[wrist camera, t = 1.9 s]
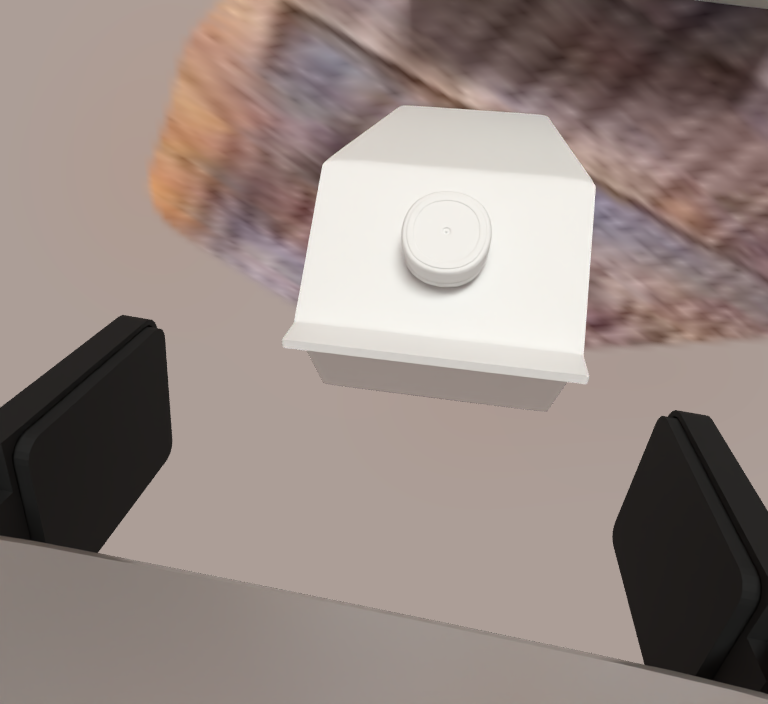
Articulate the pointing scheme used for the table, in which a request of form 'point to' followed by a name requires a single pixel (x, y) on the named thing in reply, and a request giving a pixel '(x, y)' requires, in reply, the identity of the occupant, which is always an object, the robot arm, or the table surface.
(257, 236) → the table surface
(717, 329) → the table surface
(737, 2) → the tray
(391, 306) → the milk carton
